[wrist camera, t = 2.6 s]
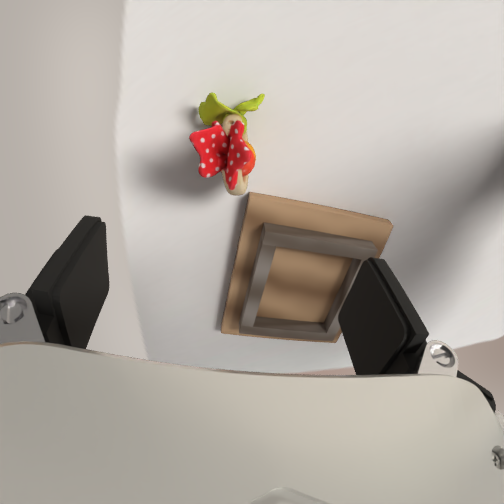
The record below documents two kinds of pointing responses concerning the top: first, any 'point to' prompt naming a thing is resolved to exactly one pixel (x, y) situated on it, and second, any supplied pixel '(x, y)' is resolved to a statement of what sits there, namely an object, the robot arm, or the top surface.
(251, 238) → the wooden tray
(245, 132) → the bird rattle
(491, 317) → the top surface
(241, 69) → the top surface
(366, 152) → the top surface
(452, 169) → the top surface
